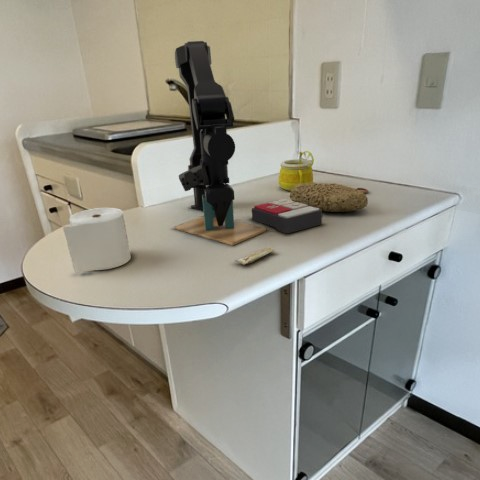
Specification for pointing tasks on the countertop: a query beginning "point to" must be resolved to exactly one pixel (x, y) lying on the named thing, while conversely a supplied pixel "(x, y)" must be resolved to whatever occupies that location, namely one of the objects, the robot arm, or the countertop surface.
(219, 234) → the wooden board
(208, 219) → the letter H
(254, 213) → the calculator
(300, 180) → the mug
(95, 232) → the toilet tissue
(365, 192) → the key
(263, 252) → the snack bar
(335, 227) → the countertop surface
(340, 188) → the sponge
